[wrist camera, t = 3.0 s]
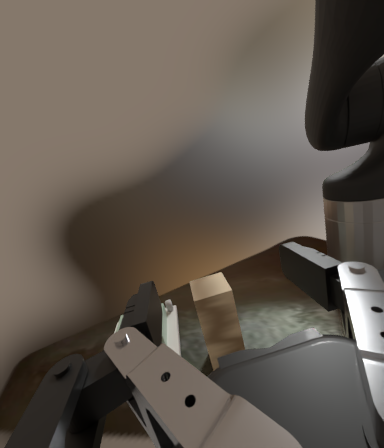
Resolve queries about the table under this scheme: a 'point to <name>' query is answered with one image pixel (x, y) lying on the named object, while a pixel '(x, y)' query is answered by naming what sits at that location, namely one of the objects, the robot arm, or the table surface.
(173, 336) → the socket plate
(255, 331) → the table surface
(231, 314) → the maple block
